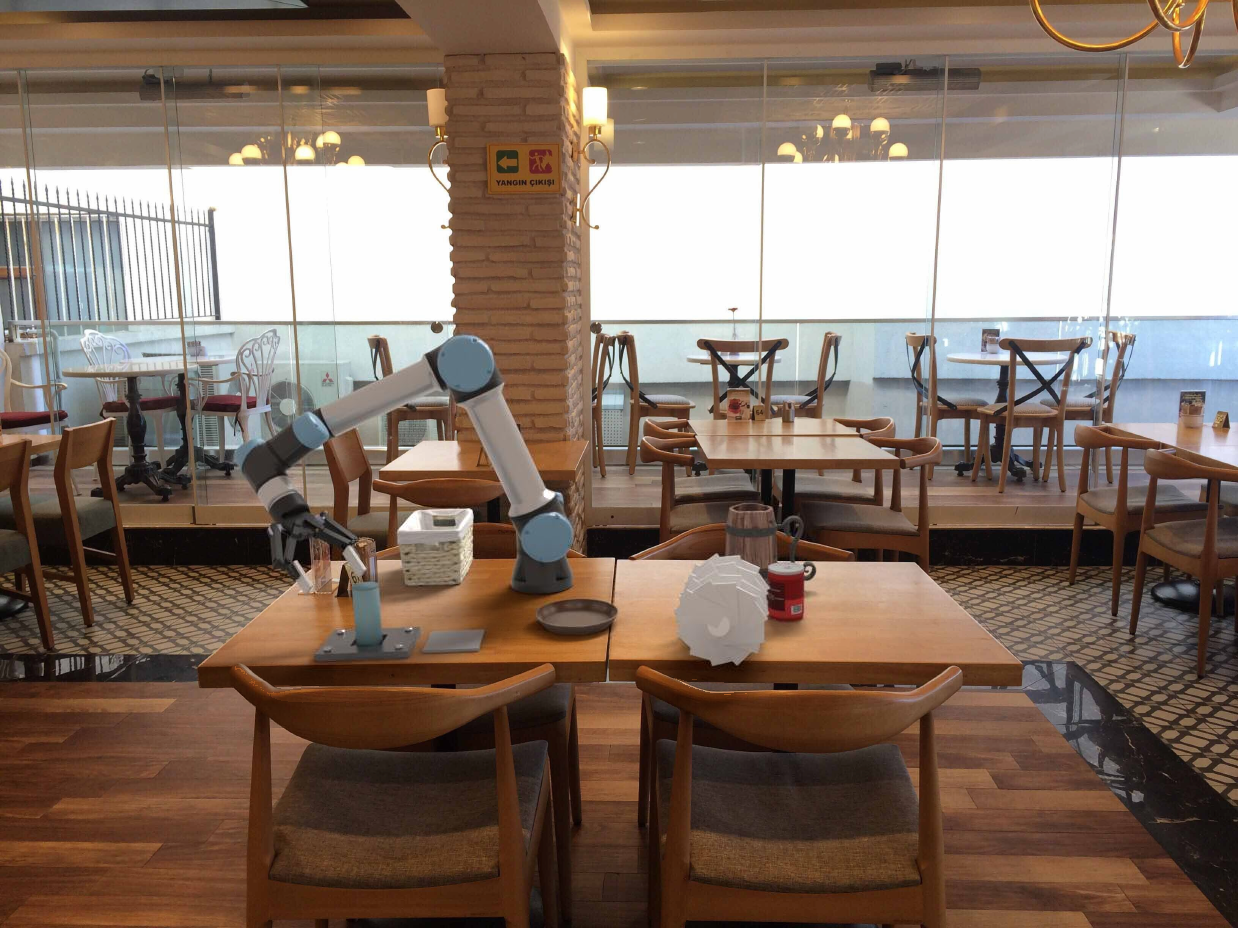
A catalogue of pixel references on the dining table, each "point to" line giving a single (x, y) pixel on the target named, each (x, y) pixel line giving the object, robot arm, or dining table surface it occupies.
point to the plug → (367, 614)
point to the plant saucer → (577, 616)
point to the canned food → (786, 591)
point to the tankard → (759, 537)
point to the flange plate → (345, 648)
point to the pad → (453, 641)
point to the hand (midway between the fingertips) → (336, 581)
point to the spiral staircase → (723, 610)
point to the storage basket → (436, 547)
